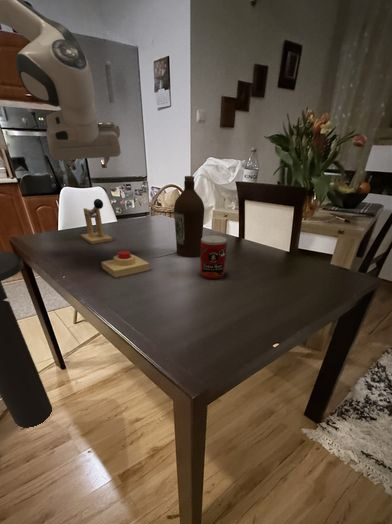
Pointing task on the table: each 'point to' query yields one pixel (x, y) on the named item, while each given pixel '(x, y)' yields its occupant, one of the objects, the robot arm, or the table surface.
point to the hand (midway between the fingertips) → (89, 167)
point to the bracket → (92, 236)
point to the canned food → (213, 256)
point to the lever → (96, 207)
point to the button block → (125, 266)
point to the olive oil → (189, 220)
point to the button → (124, 254)
